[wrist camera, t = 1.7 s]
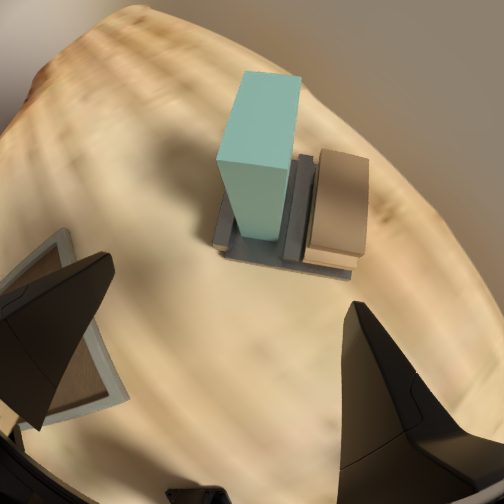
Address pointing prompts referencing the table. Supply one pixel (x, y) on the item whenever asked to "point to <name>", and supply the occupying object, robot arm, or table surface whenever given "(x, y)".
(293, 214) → the rack
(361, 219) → the offcut top
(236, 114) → the teal rectangular block
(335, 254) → the offcut middle
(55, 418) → the picture frame
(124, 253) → the table surface
